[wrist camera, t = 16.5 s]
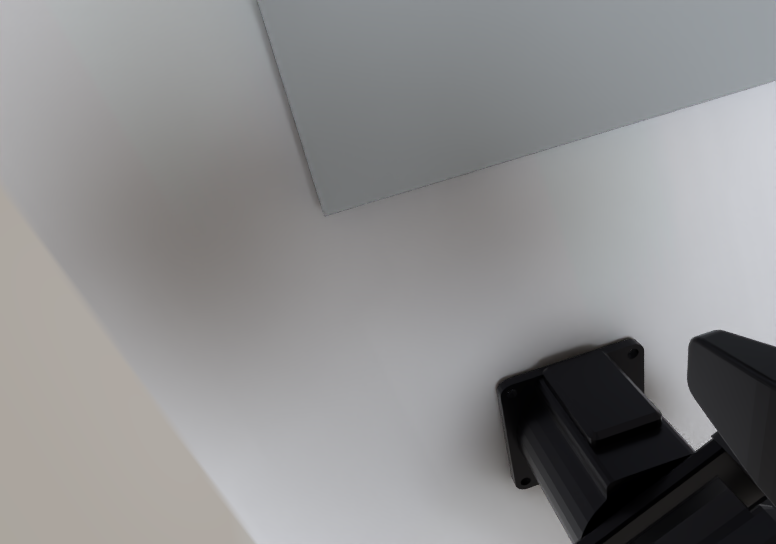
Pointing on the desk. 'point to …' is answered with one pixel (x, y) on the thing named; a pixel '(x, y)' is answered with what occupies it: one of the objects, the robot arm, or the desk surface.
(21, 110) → the desk surface
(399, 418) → the desk surface
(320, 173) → the jig
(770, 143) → the desk surface
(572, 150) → the desk surface
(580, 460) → the robot arm
